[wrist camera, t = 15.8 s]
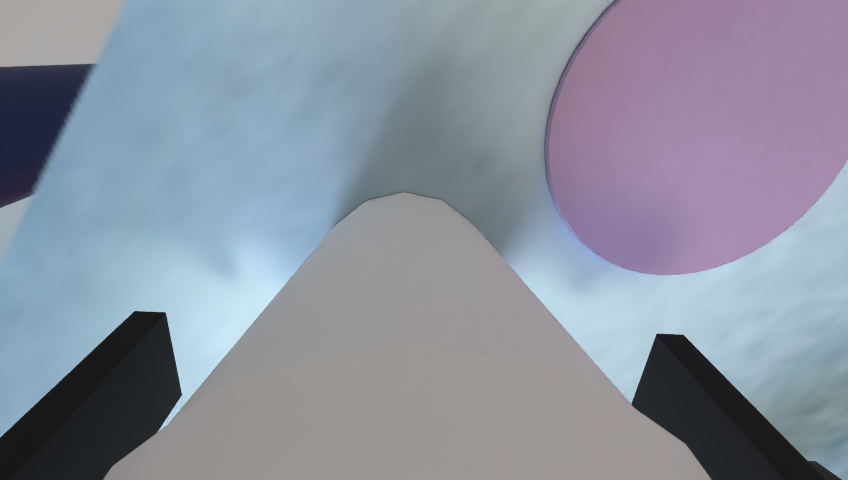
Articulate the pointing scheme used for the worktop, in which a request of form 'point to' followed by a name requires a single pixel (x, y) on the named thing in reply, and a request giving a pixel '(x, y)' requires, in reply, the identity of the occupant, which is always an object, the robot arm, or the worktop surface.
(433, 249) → the foam cup
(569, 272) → the worktop surface
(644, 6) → the lilac coaster
